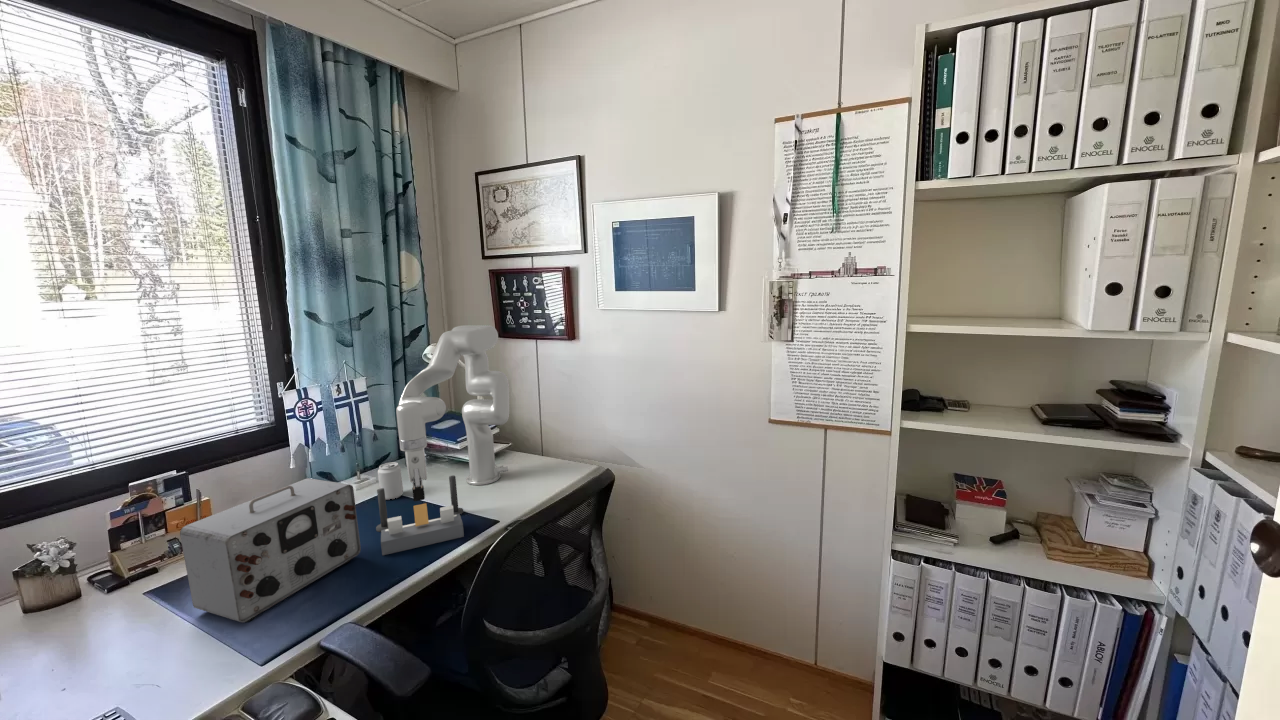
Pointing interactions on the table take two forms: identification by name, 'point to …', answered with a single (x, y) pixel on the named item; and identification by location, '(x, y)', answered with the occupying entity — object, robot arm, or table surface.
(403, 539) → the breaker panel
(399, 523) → the lever left
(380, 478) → the can
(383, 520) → the post
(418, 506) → the lever
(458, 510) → the post
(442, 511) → the lever right
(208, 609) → the vintage electronic device
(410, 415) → the robot arm
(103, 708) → the table surface
